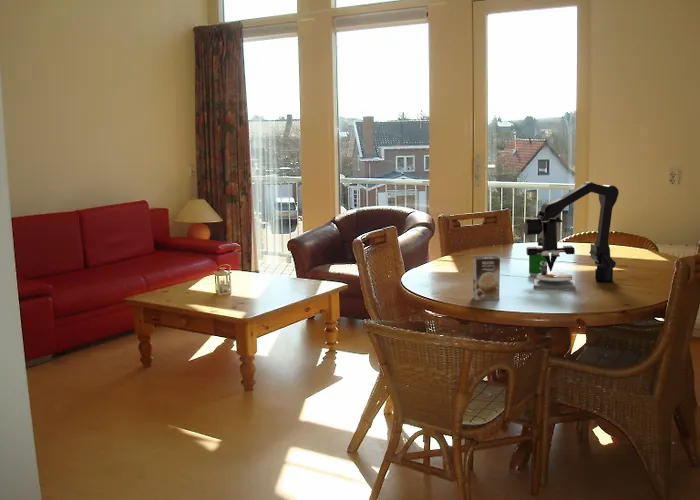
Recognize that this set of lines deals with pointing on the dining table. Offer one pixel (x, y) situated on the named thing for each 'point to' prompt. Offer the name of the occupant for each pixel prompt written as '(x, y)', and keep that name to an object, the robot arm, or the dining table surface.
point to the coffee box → (486, 277)
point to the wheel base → (554, 285)
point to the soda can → (536, 263)
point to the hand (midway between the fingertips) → (550, 271)
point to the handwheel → (553, 275)
